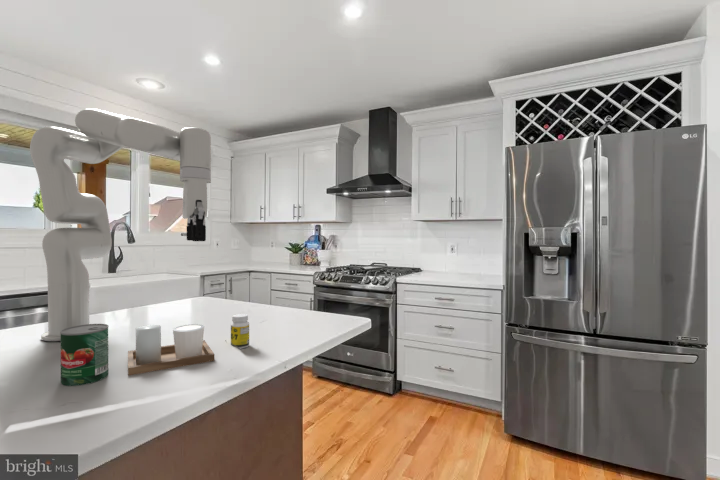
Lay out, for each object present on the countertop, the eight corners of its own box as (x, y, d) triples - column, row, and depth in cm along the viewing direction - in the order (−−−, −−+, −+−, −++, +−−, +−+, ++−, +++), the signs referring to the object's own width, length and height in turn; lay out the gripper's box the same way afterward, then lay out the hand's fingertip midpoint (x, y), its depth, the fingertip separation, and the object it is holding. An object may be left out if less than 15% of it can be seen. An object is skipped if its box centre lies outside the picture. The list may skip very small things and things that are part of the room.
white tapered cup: (166, 360, 86) (166, 330, 86) (185, 350, 93) (185, 323, 93) (192, 362, 85) (192, 331, 85) (210, 352, 92) (210, 324, 91)
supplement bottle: (227, 346, 99) (227, 315, 99) (243, 342, 103) (243, 312, 103) (236, 350, 96) (236, 318, 96) (252, 346, 100) (252, 315, 99)
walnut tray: (128, 360, 88) (127, 351, 88) (204, 348, 97) (204, 340, 97) (128, 379, 77) (128, 368, 77) (214, 364, 86) (214, 354, 86)
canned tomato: (54, 392, 70) (53, 335, 70) (67, 377, 78) (67, 325, 77) (104, 386, 74) (103, 331, 73) (112, 372, 81) (112, 322, 81)
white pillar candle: (135, 361, 85) (135, 326, 85) (160, 357, 88) (159, 323, 88) (136, 367, 81) (135, 331, 81) (162, 363, 84) (161, 328, 84)
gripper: (176, 179, 104) (176, 240, 104) (184, 170, 89) (184, 241, 89) (204, 181, 108) (205, 240, 108) (217, 173, 93) (217, 241, 93)
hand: (195, 240), depth 99 cm, fingers open, 9 cm apart
